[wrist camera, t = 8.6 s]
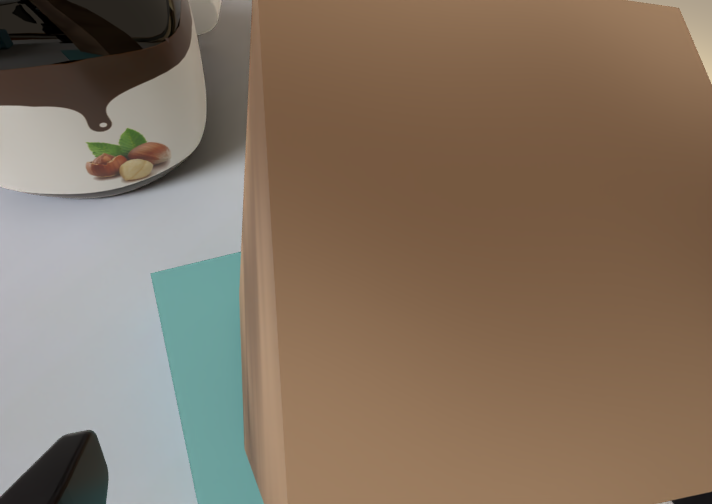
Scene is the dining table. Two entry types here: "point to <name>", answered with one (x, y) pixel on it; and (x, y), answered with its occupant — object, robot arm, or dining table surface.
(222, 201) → the dining table surface
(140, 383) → the dining table surface
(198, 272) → the teal base block
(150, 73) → the spread jar
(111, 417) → the dining table surface
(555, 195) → the walnut block
